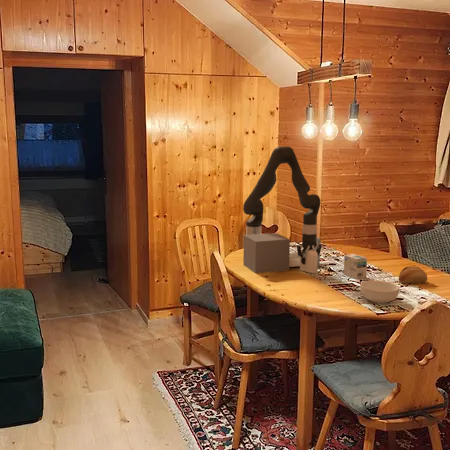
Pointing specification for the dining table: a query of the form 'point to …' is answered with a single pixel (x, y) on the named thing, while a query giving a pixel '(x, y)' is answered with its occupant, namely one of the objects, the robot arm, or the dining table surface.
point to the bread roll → (412, 275)
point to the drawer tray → (295, 259)
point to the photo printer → (310, 262)
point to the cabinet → (266, 252)
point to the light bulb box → (355, 266)
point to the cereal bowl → (379, 291)
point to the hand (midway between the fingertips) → (308, 263)
